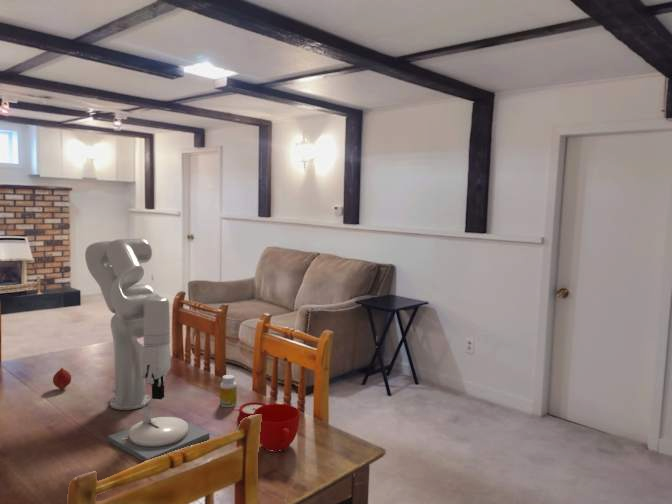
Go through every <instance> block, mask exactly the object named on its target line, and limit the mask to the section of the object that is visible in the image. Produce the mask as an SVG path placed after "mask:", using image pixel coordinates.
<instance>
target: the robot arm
mask: <svg viewBox="0 0 672 504" xmlns="http://www.w3.org/2000/svg"><path fill="white" fill-rule="evenodd" d="M152 249H153V248H152V247H151V245H150V243H149V241H148V240H146V239H144V238H121V239H115V240H110V241H109V240H108V241H107V240H106V241H105V240H103V241H99V242H94V243H91V244H89V245H88V246H87V247H86V250H85V252H84V253H85V254H84V257H85V263H86V267H87V269H88V271H89V273H90V275H91V277H92V278H93V279H94V280H95V282H96V283H97V284H98V285H99V288H100V290H101V294H102V296H103V299H104V301H105V304H106V306H107V309H108V310H109V311H110V312H111V313H112V314H113V316H112V317H111V318H110V329H111V334H112V341H113V354H114V355H113V357H114V387H113V388H112V390H111V391H112V393H114V397H113V398H112V399H111V400H110V401H109V406H110V407H111V408H112V409H115V410H119V411H130V410H135V409H136V410H137V409H141V408H143V407H146V406H148V405H149V404H150V402H151V398H152V399H153V400H163V399H164V398H165V383H166V376H167V375H168V373H169V372H170V370H171V365H172V363H171V361H172V359H171V347H170V344H171V330H170V329H171V321H170V318H171V317H170V300H168V298H166V297H163V296H162V295H161V294H159V293H156V292H155V290H154V289H153V288H152V287H151V286H150V285H148V284H146V283H145V284H143V283H141V284H139V282H140V281H141V280H142V279H143V277H144V275H145V270H144V267H143V266H142V264H144V263H145V264H146V263H148V262H149V261H151V259H152V256H153V251H152ZM142 338H143V345H142V344H141V343H140V342H139V341H138V339H142ZM146 379H147V383H146ZM146 384H147V385H150V387H151V396H150V395H149V394H147V393H146Z"/></svg>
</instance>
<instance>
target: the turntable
mask: <svg viewBox="0 0 672 504" xmlns="http://www.w3.org/2000/svg"><path fill="white" fill-rule="evenodd" d="M175 417H176V416H173V417H162V416H160V417H152V406H151V405H150V406H149V405H146V406H143V407H142V420H141V421H139V422H137V423H135V424H134V425H132V426H131V427H130V428H131V429H130V431H129V439H130V441H131V442H132V443H134V444H136V445H140V446H147V447H155V446H163V445H168V444H172V443H175V442H177V441H179V440H181V439H182V438H184V437H185V436H186V435H187V433H188V424H187V423H188V422H187V421H185V420H183V419H182V418H180V417H176V418H175Z"/></svg>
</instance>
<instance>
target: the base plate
mask: <svg viewBox="0 0 672 504" xmlns="http://www.w3.org/2000/svg"><path fill="white" fill-rule="evenodd" d="M161 417H175V418H177V417H176V416H173V415H171V414H169V413H168V414H166V415H162V416H161ZM187 424H188V433H187V435H186V436H185V437H184V438H182V439H181V440H179V441H177V442H175V443H172V444H168V445H163V446H155V447H147V446H140V445H136V444H134V443H132V442H131V441H130V439H129V431H130V429H131V427H129V428H126V429H123V430H122V431H118V432H115V433H112V434H109V435H107V442H109V443H110V444H112V445H114V446H116V447H117V448H119V449H121V450H122V451H124V452H127V453H128V454H130V455H131V456H133V457H135V458H136V459H138V460H139V461H141V462H143V461H146V460H149V459H152V458H155V457H158V456H161V455H164V454H167V453H169V452H172V451H175V450H178V449H181V448H184V447H187V446H189V447H191V446H190V445H192V444H194V445H196V444H198V443H200V442H201V443H202V442H203V441H206V440H208V439H210V432H208V431H206V430H203V428H199V427H197V426H196V425H192V424H190V423H188V422H187ZM192 446H193V445H192ZM187 448H188V447H187Z"/></svg>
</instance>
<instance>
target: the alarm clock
mask: <svg viewBox="0 0 672 504" xmlns="http://www.w3.org/2000/svg"><path fill="white" fill-rule="evenodd" d="M265 405H267V404H265V403H263V402H254V401H253V402H247V403H244V404H242V405H241V406H240V407H239V409H234V408H232V411H238V412H239V413H238V416H237V419H236V421H237V423H239V424H240V421H241V420H242V419H243V418H245V417H248V416H250V415H254V411H255V410H256V409H258V408H259V407H262V406H265Z"/></svg>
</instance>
